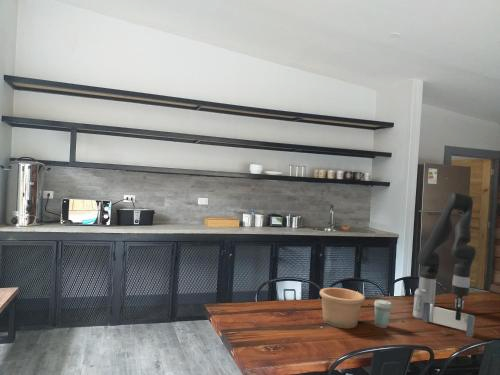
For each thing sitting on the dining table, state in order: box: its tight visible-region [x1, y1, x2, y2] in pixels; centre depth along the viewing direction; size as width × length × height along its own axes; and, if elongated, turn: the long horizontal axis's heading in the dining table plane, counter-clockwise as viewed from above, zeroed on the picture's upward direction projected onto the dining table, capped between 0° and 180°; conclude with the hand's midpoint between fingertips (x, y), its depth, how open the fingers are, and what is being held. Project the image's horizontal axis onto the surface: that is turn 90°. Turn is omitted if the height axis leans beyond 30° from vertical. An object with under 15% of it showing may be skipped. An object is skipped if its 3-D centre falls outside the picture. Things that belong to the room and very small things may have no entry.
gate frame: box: [421, 302, 476, 338], centre depth 192 cm, size 24×2×10 cm, turn 41°
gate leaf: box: [428, 303, 470, 332], centre depth 193 cm, size 18×2×9 cm, turn 54°
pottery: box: [319, 287, 366, 329], centre depth 189 cm, size 22×22×14 cm
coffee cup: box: [373, 299, 393, 329], centre depth 189 cm, size 8×8×12 cm
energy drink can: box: [412, 288, 427, 320], centre depth 207 cm, size 6×6×15 cm
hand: (457, 319), depth 188 cm, fingers closed
